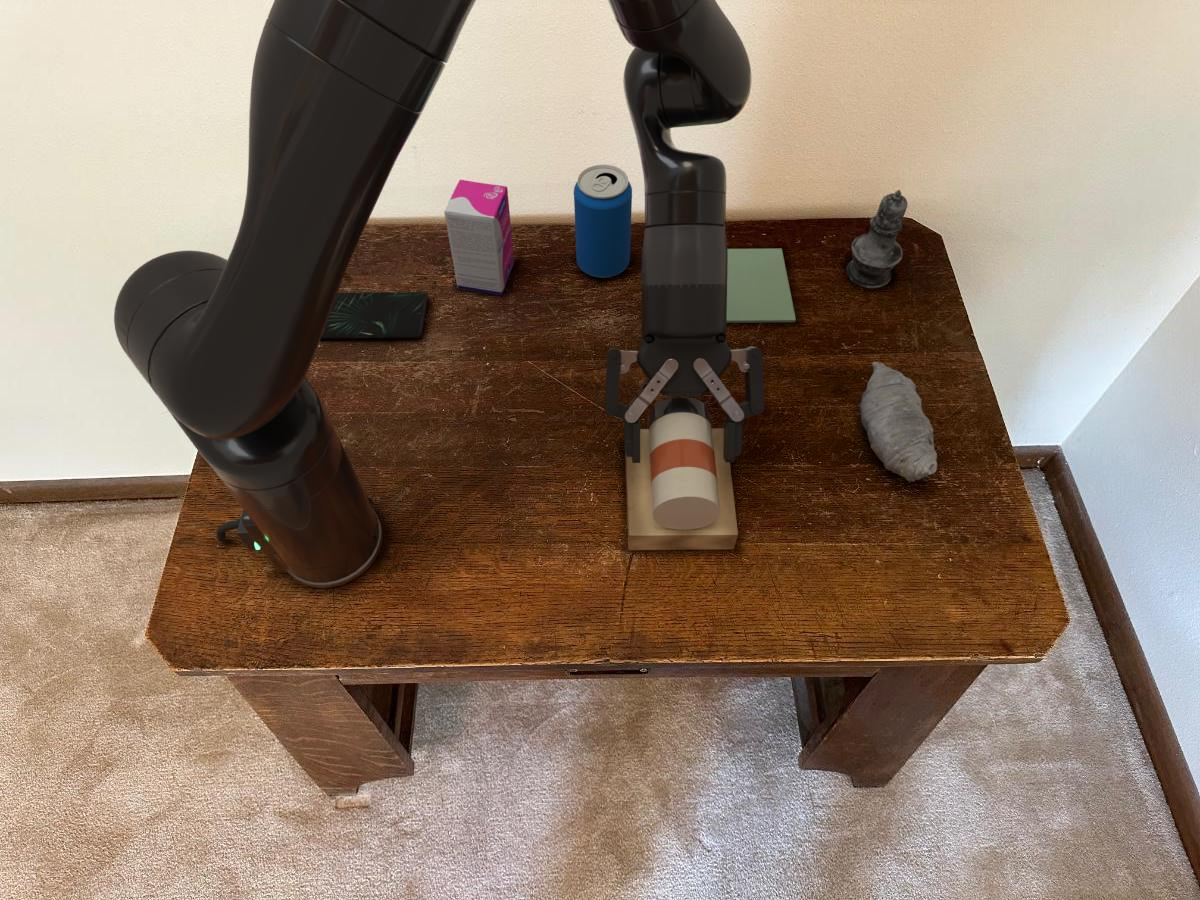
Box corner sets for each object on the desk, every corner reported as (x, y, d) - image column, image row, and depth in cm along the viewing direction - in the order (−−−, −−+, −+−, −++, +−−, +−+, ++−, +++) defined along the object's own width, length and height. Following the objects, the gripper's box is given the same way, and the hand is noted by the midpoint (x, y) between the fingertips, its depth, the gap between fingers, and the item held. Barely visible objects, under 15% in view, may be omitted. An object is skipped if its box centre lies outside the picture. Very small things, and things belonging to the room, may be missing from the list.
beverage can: (639, 257, 98) (643, 174, 88) (611, 289, 95) (612, 207, 85) (594, 238, 100) (593, 155, 90) (566, 269, 96) (561, 186, 87)
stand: (628, 550, 75) (629, 535, 73) (624, 445, 82) (625, 428, 79) (734, 549, 75) (738, 534, 73) (722, 445, 82) (725, 427, 79)
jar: (650, 530, 73) (654, 496, 68) (645, 434, 79) (648, 396, 74) (716, 530, 73) (725, 496, 68) (706, 433, 79) (713, 396, 74)
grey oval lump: (909, 360, 84) (925, 336, 77) (931, 486, 82) (950, 474, 74) (847, 368, 85) (857, 345, 78) (867, 493, 83) (879, 482, 75)
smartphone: (300, 292, 93) (428, 290, 93) (303, 298, 94) (429, 296, 94) (287, 336, 89) (420, 334, 89) (290, 342, 90) (422, 340, 90)
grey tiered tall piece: (835, 261, 97) (861, 178, 87) (878, 251, 98) (909, 168, 88) (858, 294, 94) (888, 212, 84) (902, 284, 95) (937, 201, 85)
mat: (690, 323, 91) (691, 320, 91) (684, 251, 98) (684, 249, 98) (795, 322, 91) (796, 320, 91) (781, 250, 98) (781, 248, 98)
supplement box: (504, 296, 94) (493, 218, 84) (456, 289, 95) (440, 211, 85) (517, 262, 97) (507, 184, 88) (470, 256, 98) (456, 177, 88)
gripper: (603, 281, 66) (605, 471, 69) (774, 279, 66) (768, 469, 69) (603, 282, 74) (604, 454, 77) (756, 281, 74) (752, 452, 77)
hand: (682, 461), depth 73 cm, fingers open, 8 cm apart
